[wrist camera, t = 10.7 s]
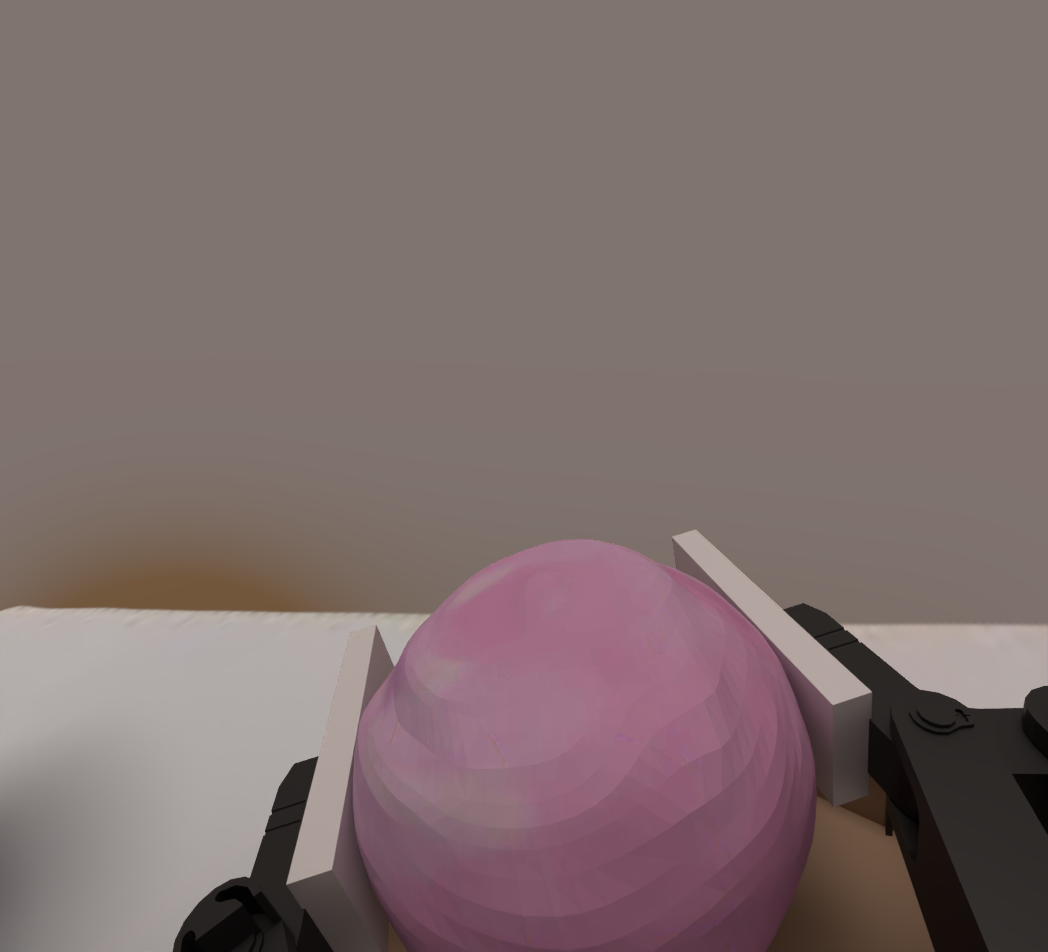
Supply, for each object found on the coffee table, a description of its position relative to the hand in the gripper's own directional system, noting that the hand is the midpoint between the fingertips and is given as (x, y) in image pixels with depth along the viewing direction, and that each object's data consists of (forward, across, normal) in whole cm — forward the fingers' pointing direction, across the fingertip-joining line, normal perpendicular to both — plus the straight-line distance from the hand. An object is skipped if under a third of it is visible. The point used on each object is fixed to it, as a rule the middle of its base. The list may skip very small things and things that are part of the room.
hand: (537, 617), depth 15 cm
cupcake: (-5, 0, -6) cm, 8 cm away
